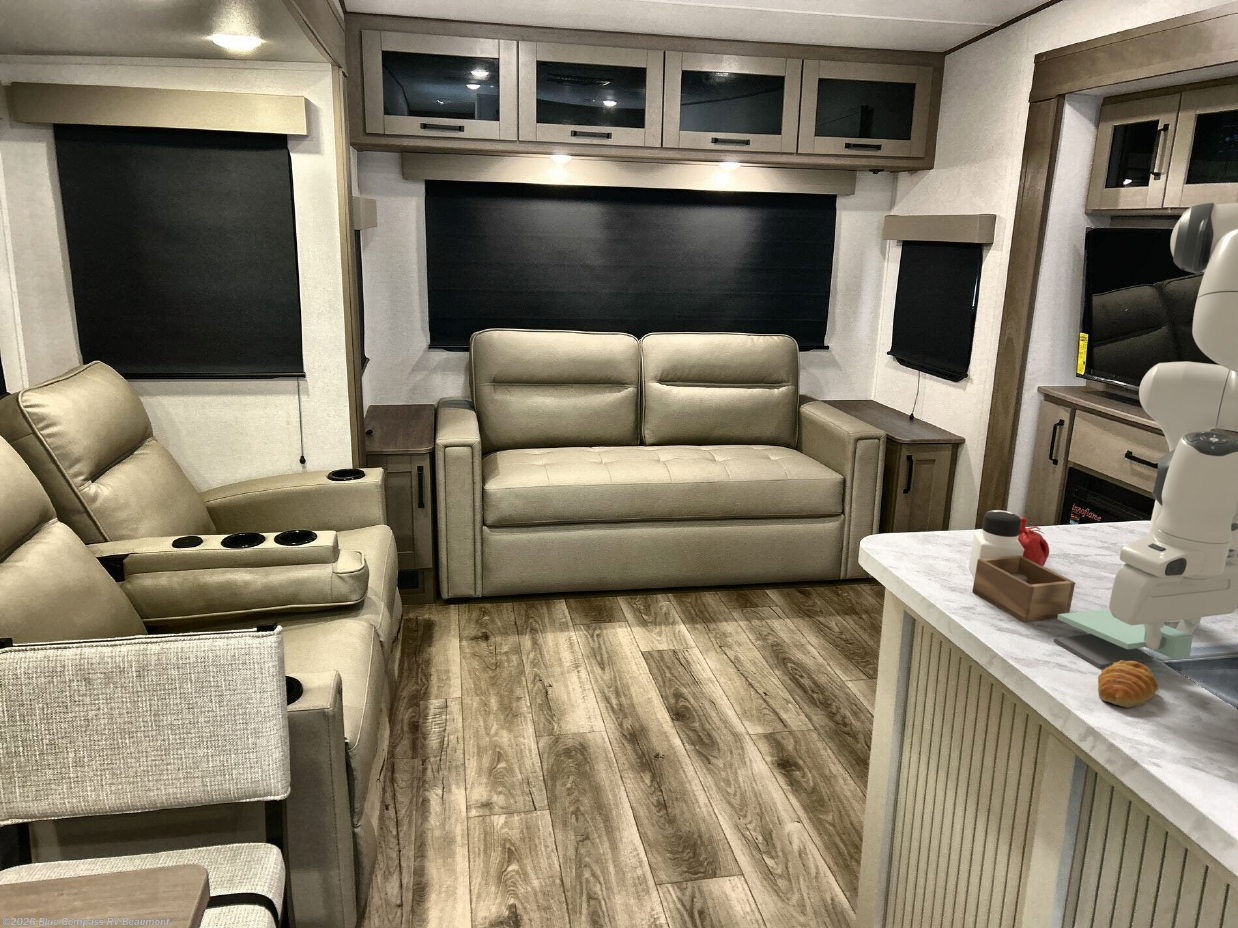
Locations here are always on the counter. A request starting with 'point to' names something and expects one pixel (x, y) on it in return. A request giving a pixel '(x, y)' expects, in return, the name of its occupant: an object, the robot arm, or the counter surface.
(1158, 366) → the robot arm
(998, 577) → the wooden box
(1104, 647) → the mat
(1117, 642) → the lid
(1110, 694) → the pastry
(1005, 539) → the medicine bottle
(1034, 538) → the pomegranate
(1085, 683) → the counter surface
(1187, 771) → the counter surface
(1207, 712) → the counter surface
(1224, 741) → the counter surface
